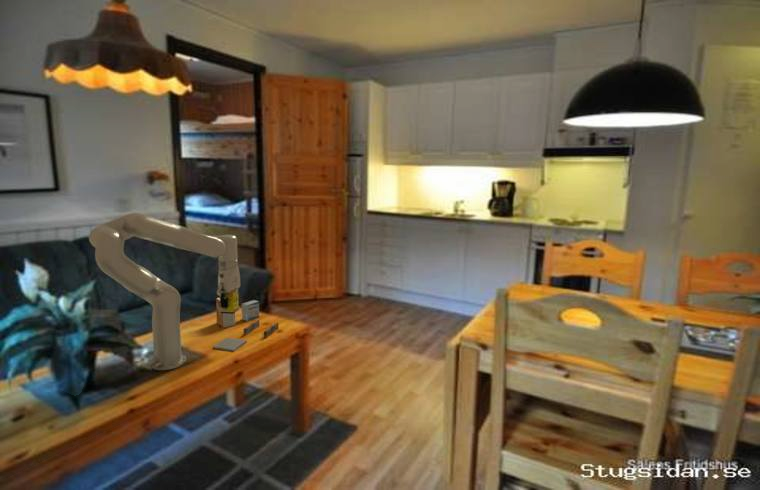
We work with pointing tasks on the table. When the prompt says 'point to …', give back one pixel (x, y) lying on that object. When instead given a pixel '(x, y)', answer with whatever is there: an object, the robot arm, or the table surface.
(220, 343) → the grey tile
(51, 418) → the table surface
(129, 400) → the table surface
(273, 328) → the divider rack
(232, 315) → the small box
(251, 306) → the medicine box
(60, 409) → the table surface
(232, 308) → the supplement box
